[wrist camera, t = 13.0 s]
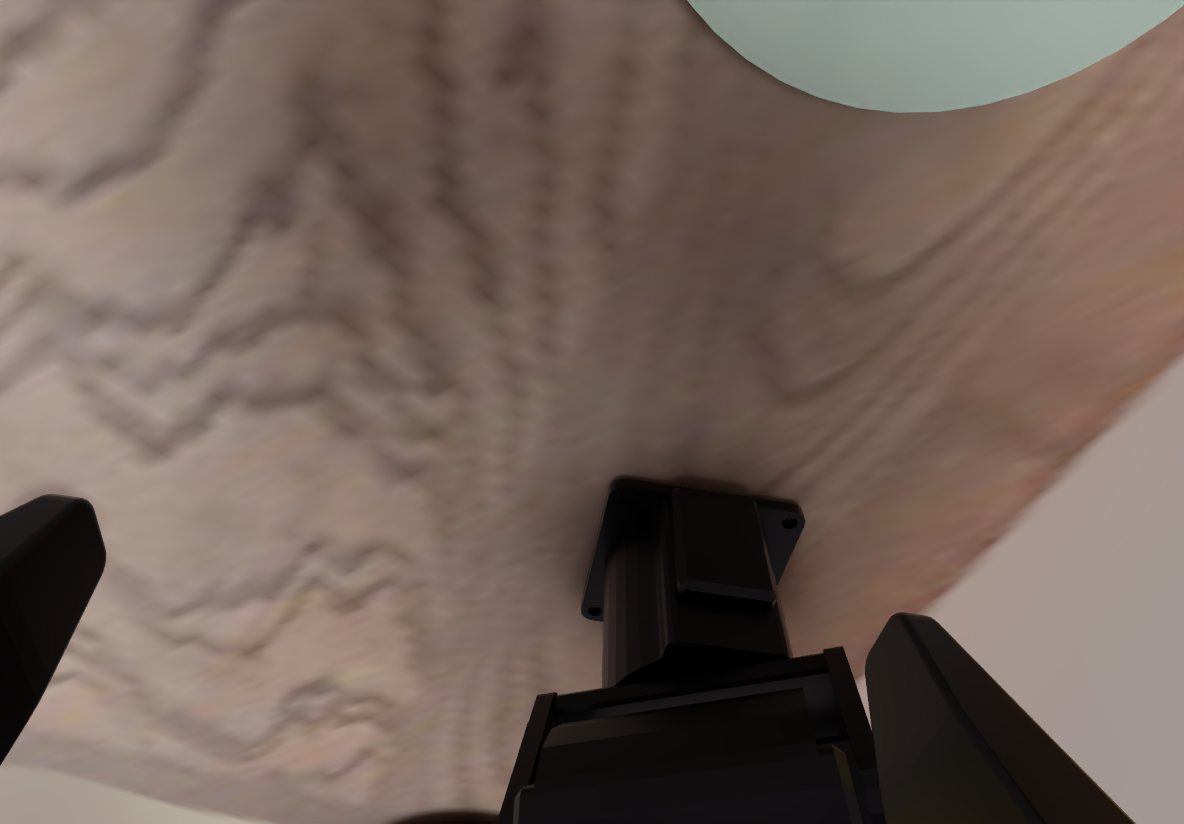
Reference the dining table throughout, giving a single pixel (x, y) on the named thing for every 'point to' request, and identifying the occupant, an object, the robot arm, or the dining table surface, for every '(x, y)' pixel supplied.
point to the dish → (927, 45)
